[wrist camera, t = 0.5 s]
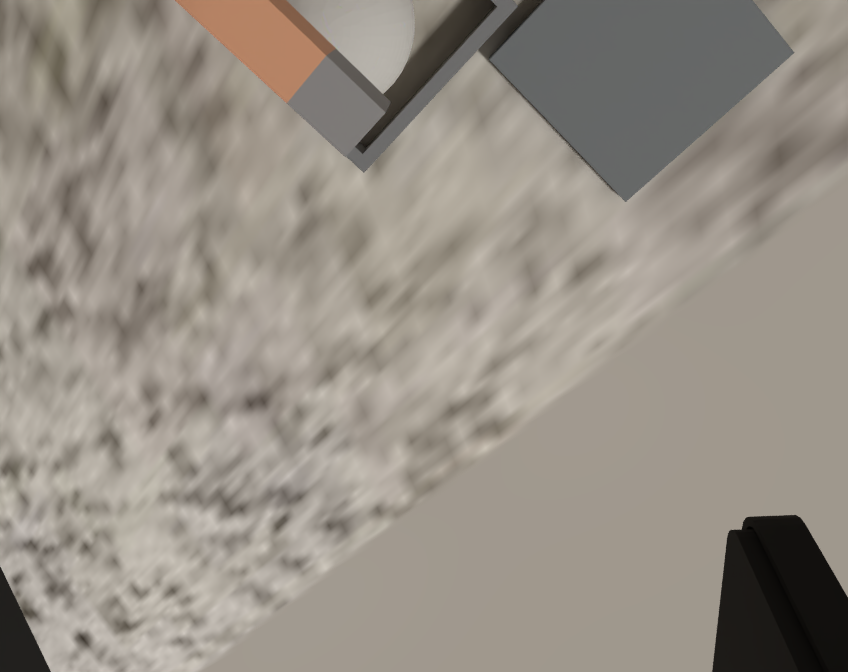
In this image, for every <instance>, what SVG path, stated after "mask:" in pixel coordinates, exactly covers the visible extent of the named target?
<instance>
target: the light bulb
mask: <svg viewBox="0 0 848 672" xmlns="http://www.w3.org/2000/svg"><path fill="white" fill-rule="evenodd" d="M286 1H288V2H289V3H290V4H291V5H292V6H293V7H294V8H295V9H296V10H297V11H298V12H299V13H300V14H301V15H302V16H303V17H304V18H305V19H306V20H307V21H308V22H309V23H310V24H311V25H312V26H313V27H314V28H315V29H316V30H317V31H318V32H320V33H321V34H322V35H323V36H324V37H325V38H326V39H327V40H328V41H329V42H330V43H331V44H332V45H333V46H334V47H335V48H336V49H337V50H338V51H339V52H340V53H341V54H342V55H343V56H344V57H345V58H346V59H347V60H348V61H349V62H350V63H351V64H353V65H354V66H355V67H356V68H357V69H358V70H359V71H360V72H361V73H362V74H363V75H364V76H365V77H366V78H367V79H368V80H369V81H370V82H371V83H372V84H373V85H374V86H375V87H376V88H377V89H378V90H379V91H380V92H381V93H382V94H384V93H385V92H386V91H387V90H388V89H389V88H390V87H391V86H392V85H393V84H394V82H395V81H396V80H397V78H398V77H399V75H400V74H401V73H402V71H403V69H404V67H405V65H406V63H407V61H408V58H409V55H410V52H411V49H412V45H413V39H414V33H415V15H414V7H413V2H412V0H286Z"/></svg>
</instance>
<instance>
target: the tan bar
mask: <svg viewBox="0 0 848 672" xmlns="http://www.w3.org/2000/svg"><path fill="white" fill-rule="evenodd" d="M175 1H176V2H177V3H178V4H179V5H181V6H182V7H183V8H184V9H185V10H186V11H187V12H188V13H189V14H190V15H191V16H193V17H194V18H195V19H196V20H197V21H198V22H199V23H200V24H201V25H202V26H203V27H204V28H206V29H207V30H208V31H209V32H210V33H211V34H212V35H213V36H214V37H215V38H216V39H218V40H219V41H220V42H221V43H222V44H223V45H224V46H225V47H226V48H227V49H228V50H229V51H231V52H232V53H233V54H234V55H235V56H236V57H237V58H238V59H239V60H240V61H241V62H243V63H244V64H245V65H246V66H247V67H248V68H249V69H250V70H251V71H252V72H253V73H254V74H256V75H257V76H258V77H259V78H260V79H261V80H262V81H263V82H264V83H265V84H266V85H268V86H269V87H270V88H271V89H272V90H273V91H274V92H275V93H276V94H277V95H278V96H279V97H281V98H282V99H283V100H284V101H285V102H286V103H287V104H288V105H289V106H290V107H291V108H293V109H294V110H295V111H296V112H297V113H298V114H299V115H300V116H301V117H302V118H303V119H304V120H306V121H307V122H308V123H309V124H310V125H311V126H312V127H313V128H314V129H315V130H316V131H318V132H319V133H320V134H321V135H322V136H323V137H324V138H325V139H326V140H327V141H328V142H329V143H331V144H332V145H333V146H334V147H335V148H336V149H337V150H338V151H339V152H340V153H341V154H343V155H344V156H345V157H346V156H347V155H348V154H349V153H350V152H351V151H352V149H353V148H354V147H355V146H356V145H357V144H358V143H359V142H360V141H361V139H362V138H363V137H364V136H365V135H366V134H367V133H368V132H369V131H370V129H371V128H372V127H373V126H374V125H375V124H376V123H377V122H378V121H379V119H380V118H381V117H382V116H383V115H384V114H385V113H386V111H387V109H388V107H389V105H390V103H391V101H390V100H389V99H388V98H387V97H386V96H384V95H383V94H382V93H381V92H380V91H379V90H378V89H377V88H376V87H375V86H374V85H373V84H372V83H371V82H370V81H369V80H368V79H367V78H366V77H365V76H364V75H363V74H362V73H361V72H360V71H359V70H358V69H357V68H356V67H355V66H354V65H353V64H351V63H350V62H349V61H348V60H347V59H346V58H345V57H344V56H343V55H342V54H341V53H340V52H339V51H338V50H337V49H336V48H335V47H334V46H333V45H332V44H331V43H330V42H329V41H328V40H327V39H326V38H325V37H324V36H323V35H322V34H321V33H320V32H318V31H317V30H316V29H315V28H314V27H313V26H312V25H311V24H310V23H309V22H308V21H307V20H306V19H305V18H304V17H303V16H302V15H301V14H300V13H299V12H298V11H297V10H296V9H295V8H294V7H293V6H292V5H291V4H290V3H289V2H288V1H286V0H175Z"/></svg>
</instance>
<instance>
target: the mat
mask: <svg viewBox="0 0 848 672" xmlns="http://www.w3.org/2000/svg"><path fill="white" fill-rule="evenodd" d="M792 54H794V52H793V50H792V49H791V48H790V47H789V45H788V44H787V43H786V42H785V40H784V39H783V38H782V37H781V35H780V34H779V33H778V32H777V30H776V29H775V28H774V27H773V25H772V24H771V23H770V22H769V20H768V19H767V18H766V17H765V15H764V14H763V13H762V12H761V10H760V9H759V8H758V7H757V5H756V4H755V3H754V2H753V0H543V1H542V2H541V3H540V4H539V5H538V6H537V7H536V8H535V10H534V11H533V12H532V13H531V14H530V15H529V16H528V17H527V18H526V19H525V20H524V21H523V22H522V23H521V24H520V26H519V27H518V28H517V29H516V30H515V31H514V32H513V33H512V34H511V35H510V36H509V37H508V38H507V39H506V41H505V42H504V43H503V44H502V45H501V46H500V47H499V48H498V49H497V50H496V51H495V52H494V53H493V54H492V55H491V57H490V58H489V60H490V61H491V62H492V63H493V64H494V65H495V66H496V67H497V68H498V69H499V70H500V72H501V73H502V74H503V75H504V76H505V77H506V78H507V79H508V80H509V81H510V82H511V83H512V84H513V85H514V86H515V87H516V88H517V89H518V90H519V91H520V92H521V93H522V94H523V95H524V97H525V98H526V99H527V100H528V101H529V102H530V103H531V104H532V105H533V106H534V107H535V108H536V109H537V110H538V111H539V112H540V113H541V114H542V115H543V116H544V117H545V118H546V119H547V121H548V122H549V123H550V124H551V125H552V126H553V127H554V128H555V129H556V130H557V131H558V132H559V133H560V134H561V135H562V136H563V137H564V138H565V139H566V140H567V141H568V142H569V143H570V145H571V146H572V147H573V148H574V149H575V150H576V151H577V152H578V153H579V154H580V155H581V156H582V157H583V158H584V159H585V160H586V161H587V162H588V163H589V164H590V165H591V166H592V167H593V169H594V170H595V171H596V172H597V173H598V174H599V175H600V176H601V177H602V178H603V179H604V180H605V181H606V182H607V183H608V184H609V185H610V186H611V187H612V188H613V189H614V190H615V191H616V192H617V194H618V195H619V196H620V197H621V198H622V199H623V200H624V201H625V202H626V201H627V200H628V199H630V198H631V197H632V196H633V195H634V194H635V193H636V192H637V191H639V190H640V189H641V188H642V187H643V186H644V185H645V184H647V183H648V182H649V181H650V180H651V179H652V178H653V177H654V176H656V175H657V174H658V173H659V172H660V171H661V170H662V169H663V168H665V167H666V166H667V165H668V164H669V163H670V162H671V161H673V160H674V159H675V158H676V157H677V156H678V155H679V154H680V153H682V152H683V151H684V150H685V149H686V148H687V147H688V146H690V145H691V144H692V143H693V142H694V141H695V140H696V139H697V138H699V137H700V136H701V135H702V134H703V133H704V132H705V131H706V130H708V129H709V128H710V127H711V126H712V125H713V124H714V123H716V122H717V121H718V120H719V119H720V118H721V117H722V116H723V115H725V114H726V113H727V112H728V111H729V110H730V109H731V108H732V107H734V106H735V105H736V104H737V103H738V102H739V101H740V100H742V99H743V98H744V97H745V96H746V95H747V94H748V93H749V92H751V91H752V90H753V89H754V88H755V87H756V86H757V85H758V84H760V83H761V82H762V81H763V80H764V79H765V78H766V77H768V76H769V75H770V74H771V73H772V72H773V71H774V70H775V69H777V68H778V67H779V66H780V65H781V64H782V63H783V62H784V61H786V60H787V59H788V58H789V57H790V56H791V55H792Z"/></svg>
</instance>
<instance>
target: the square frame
mask: <svg viewBox="0 0 848 672" xmlns="http://www.w3.org/2000/svg"><path fill="white" fill-rule="evenodd" d="M491 1H492V2H493V3H494V4H495V5H496V6H495V7H494V8H493V9H492V10H491V11H490V12H489V13H488V15H487V16H486V17H485V18H484V19H483V20H482V21H481V22H480V23H479V24H478V25H477V27H476V28H475V29H474V30H473V31H472V32H471V33H470V34H469V35H468V36H467V38H466V39H465V40H464V41H463V42H462V43H461V44H460V45H459V46H458V47H457V49H456V50H455V51H454V52H453V53H452V54H451V55H450V56H449V57H448V58H447V60H446V61H445V62H444V63H443V64H442V65H441V66H440V67H439V68H438V69H437V71H436V72H435V73H434V74H433V75H432V76H431V77H430V78H429V79H428V80H427V82H426V83H425V84H424V85H423V86H422V87H421V88H420V89H419V90H418V91H417V93H416V94H415V95H414V96H413V97H412V98H411V99H410V100H409V101H408V102H407V103H406V105H405V106H404V107H403V108H402V109H401V110H400V111H399V112H398V113H397V114H396V116H395V117H394V118H393V119H392V120H391V121H390V122H389V123H388V124H387V125H386V127H385V128H384V129H383V130H382V131H381V132H380V133H379V134H378V135H377V136H376V138H375V139H374V140H373V141H372V142H371V143H370V144H369V145H368V146H367V147H365V146H364V145H362V144H361V143H360V142H359V143H358V144H357V145H356V146H355V147H354V148H353V149H352V151H351V152H350V153H349V154H348V155H347V156H346V157H347V158H348V159H350V160H351V161H352V162H353V163H354V164H355V165H356V166H357V167H358V168H359V169H360V170H361V171H363V172H365V171H366V170H367V169H368V168H369V167H370V166H371V165H372V164H373V162H374V161H375V160H376V159H377V158H378V157H379V156H380V155H381V154H382V153H383V152H384V151H385V150H386V148H387V147H388V146H389V145H390V144H391V143H392V142H393V141H394V140H395V139H396V138H397V137H398V135H399V134H400V133H401V132H402V131H403V130H404V129H405V128H406V127H407V126H408V125H409V124H410V122H411V121H412V120H413V119H414V118H415V117H416V116H417V115H418V114H419V113H420V112H421V111H422V109H423V108H424V107H425V106H426V105H427V104H428V103H429V102H430V101H431V100H432V99H433V98H434V97H435V95H436V94H437V93H438V92H439V91H440V90H441V89H442V88H443V87H444V86H445V85H446V84H447V82H448V81H449V80H450V79H451V78H452V77H453V76H454V75H455V74H456V73H457V72H458V71H459V69H460V68H461V67H462V66H463V65H464V64H465V63H466V62H467V61H468V60H469V59H470V58H471V57H472V55H473V54H474V53H475V52H476V51H477V50H478V49H479V48H480V47H481V46H482V45H483V44H484V42H485V41H486V40H487V39H488V38H489V37H490V36H491V35H492V34H493V33H494V32H495V31H496V29H497V28H498V27H499V26H500V25H501V24H502V23H503V22H504V21H505V20H506V19H507V18H508V16H509V15H510V14H511V13H512V12H513V11H514V10H515V9H516V8H517V7H518V6H517V4H516V3H515V2H514V1H513V0H491Z"/></svg>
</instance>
